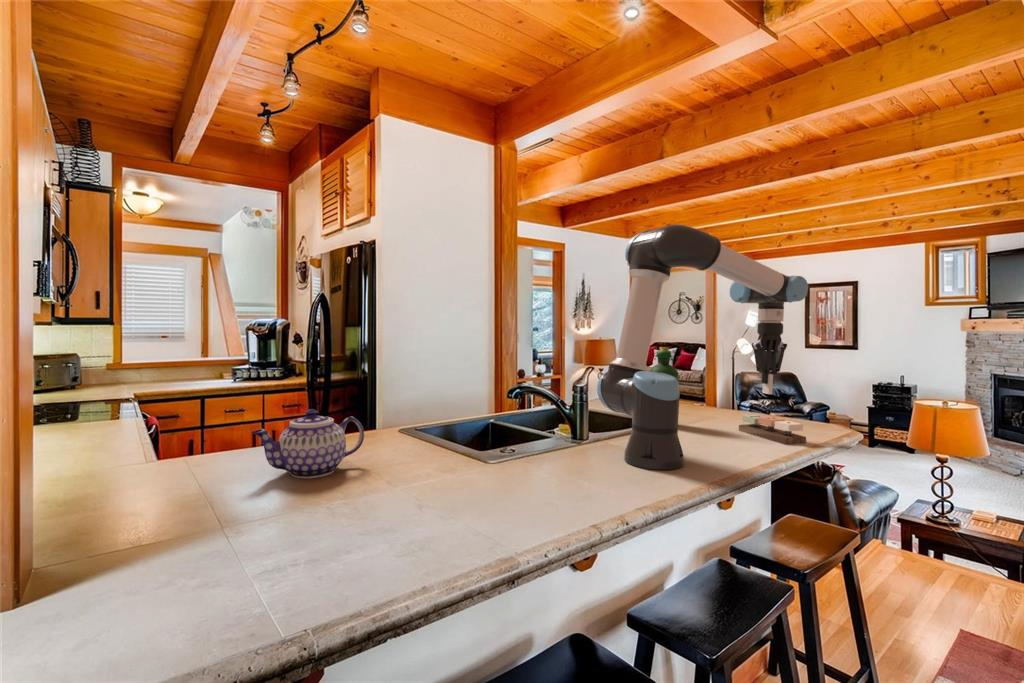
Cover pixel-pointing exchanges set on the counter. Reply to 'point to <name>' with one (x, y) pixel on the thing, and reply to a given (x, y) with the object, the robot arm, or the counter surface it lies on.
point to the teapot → (309, 445)
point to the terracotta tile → (769, 422)
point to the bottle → (664, 363)
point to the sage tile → (751, 419)
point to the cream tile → (788, 427)
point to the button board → (772, 434)
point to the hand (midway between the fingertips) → (767, 393)
